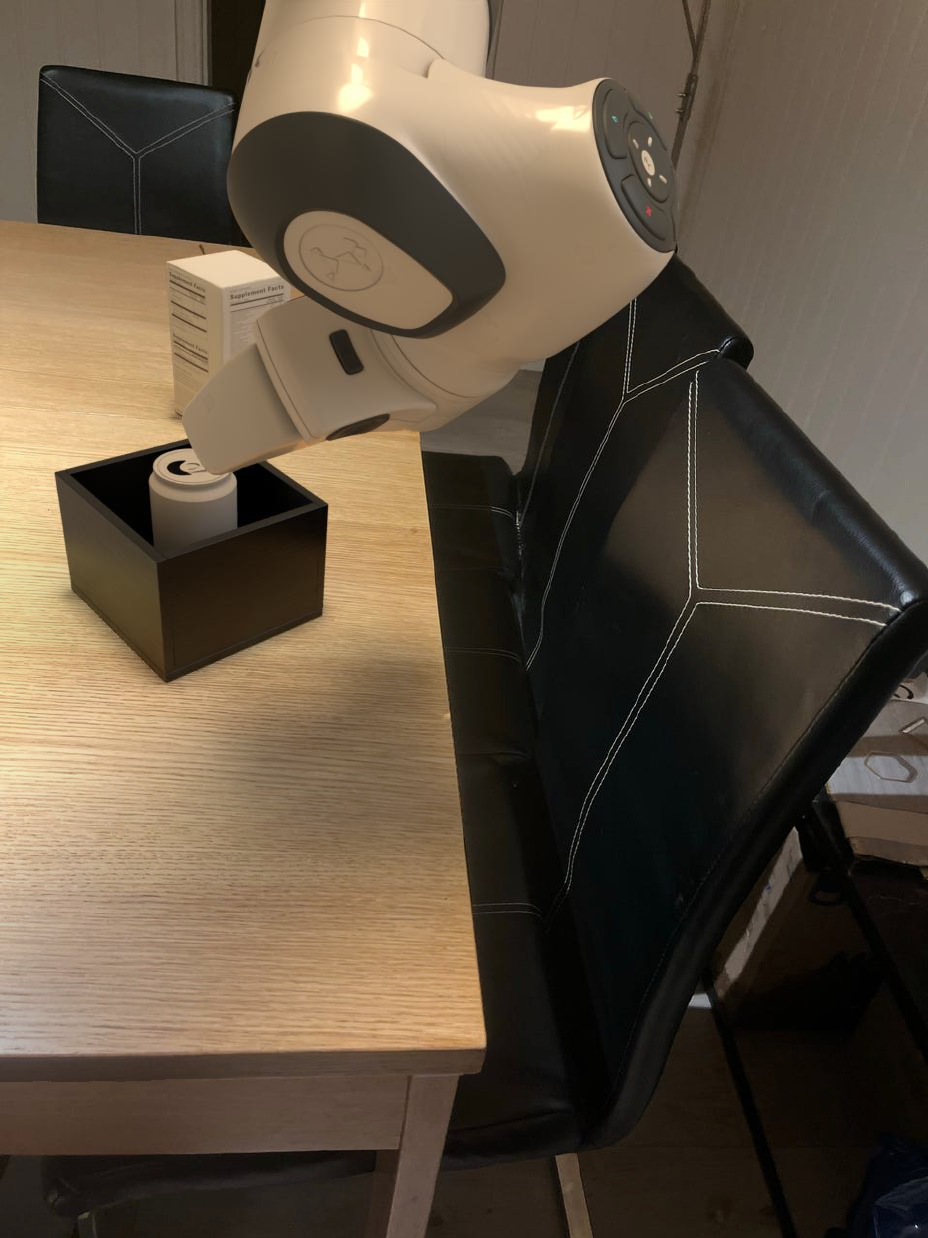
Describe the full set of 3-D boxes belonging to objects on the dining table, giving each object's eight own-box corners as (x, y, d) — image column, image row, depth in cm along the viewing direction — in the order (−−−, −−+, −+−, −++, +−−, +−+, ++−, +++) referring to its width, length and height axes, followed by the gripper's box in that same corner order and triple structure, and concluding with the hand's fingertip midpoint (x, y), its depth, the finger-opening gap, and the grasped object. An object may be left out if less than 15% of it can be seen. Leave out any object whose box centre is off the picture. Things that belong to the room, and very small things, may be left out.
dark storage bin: (166, 683, 67) (156, 562, 61) (71, 588, 75) (53, 471, 68) (322, 615, 76) (328, 503, 70) (224, 536, 84) (221, 429, 77)
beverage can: (151, 578, 76) (140, 448, 69) (228, 567, 79) (225, 441, 71) (165, 623, 72) (155, 489, 64) (247, 610, 74) (245, 480, 67)
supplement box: (239, 393, 109) (237, 247, 99) (291, 421, 105) (295, 272, 95) (171, 412, 102) (162, 258, 92) (224, 443, 98) (220, 285, 88)
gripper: (514, 263, 55) (386, 363, 65) (233, 315, 41) (129, 431, 52) (558, 360, 55) (424, 444, 65) (294, 443, 42) (179, 532, 52)
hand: (292, 439), depth 58 cm, fingers open, 8 cm apart
